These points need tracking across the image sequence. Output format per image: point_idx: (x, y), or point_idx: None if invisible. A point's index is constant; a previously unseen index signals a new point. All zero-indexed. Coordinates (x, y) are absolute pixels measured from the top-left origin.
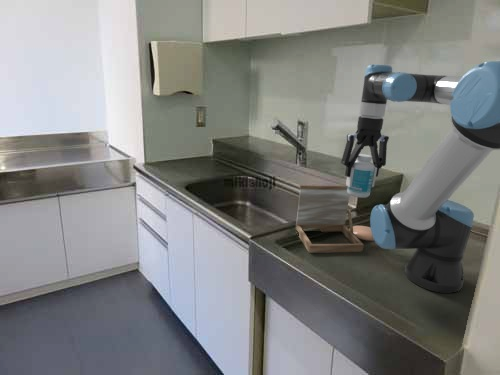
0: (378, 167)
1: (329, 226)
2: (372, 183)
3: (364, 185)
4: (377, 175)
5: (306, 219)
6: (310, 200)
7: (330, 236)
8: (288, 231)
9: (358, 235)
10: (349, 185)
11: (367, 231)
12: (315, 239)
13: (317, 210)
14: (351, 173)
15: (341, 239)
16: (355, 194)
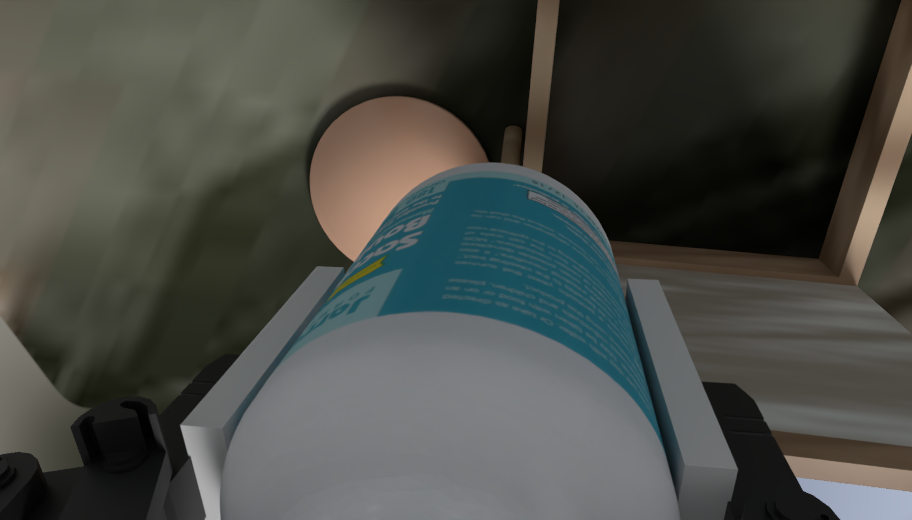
0: (155, 412)
1: (622, 253)
2: (328, 287)
3: (496, 206)
4: (214, 363)
5: (805, 296)
6: (865, 378)
7: (642, 178)
8: (884, 271)
9: (465, 154)
10: (660, 296)
11: (380, 200)
12: (767, 149)
13: (753, 322)
14: (706, 397)
15: (592, 132)
16: (580, 203)
